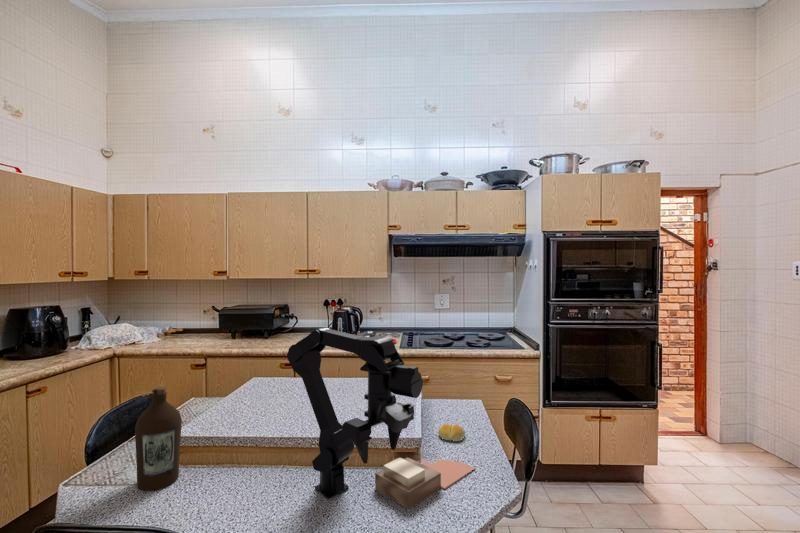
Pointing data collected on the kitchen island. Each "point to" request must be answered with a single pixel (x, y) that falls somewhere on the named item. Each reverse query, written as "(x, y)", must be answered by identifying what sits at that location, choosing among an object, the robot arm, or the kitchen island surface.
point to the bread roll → (451, 432)
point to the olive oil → (158, 443)
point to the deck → (412, 493)
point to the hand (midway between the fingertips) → (379, 456)
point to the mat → (449, 471)
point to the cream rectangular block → (404, 471)
